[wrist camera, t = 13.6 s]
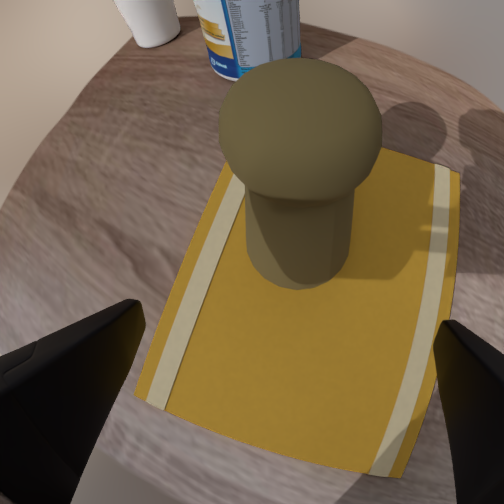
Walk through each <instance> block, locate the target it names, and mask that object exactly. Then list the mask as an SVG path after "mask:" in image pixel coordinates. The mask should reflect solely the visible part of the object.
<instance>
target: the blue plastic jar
mask: <svg viewBox="0 0 504 504" xmlns="http://www.w3.org/2000/svg"><path fill="white" fill-rule="evenodd" d="M194 4H195V7H196V11H197V14H198V18H199V21H200V25H201V28H202V31H203V35H204V39H205V42H206V46H207V50H208V54H209V59H210V63H211V66H212V68H213V69H214V71H215V72H216V73H217V74H219V75H220V76H222V77H224V78H226V79H228V80H232V81H237V80H238V79H239V78H240V77H241V76H242V75H243V74H244V73H246V72H248V71H249V70H251V69H253V68H255V67H257V66H259V65H261V64H264V63H267V62H271V61H274V60H278V59H287V58H301V43H300V15H299V0H194Z"/></svg>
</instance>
